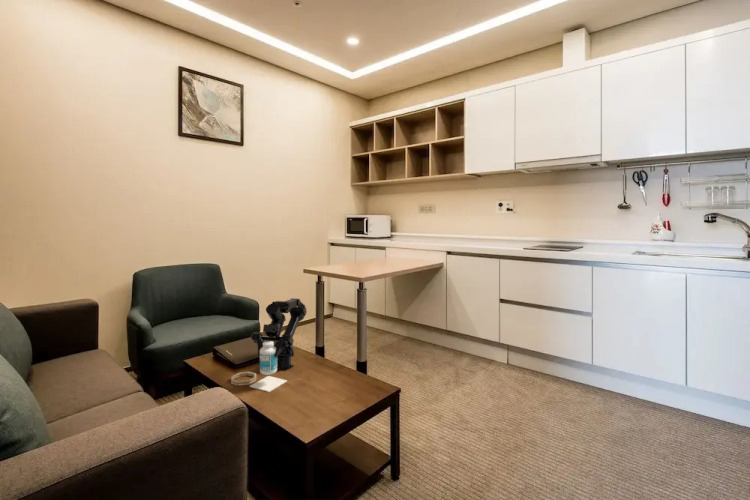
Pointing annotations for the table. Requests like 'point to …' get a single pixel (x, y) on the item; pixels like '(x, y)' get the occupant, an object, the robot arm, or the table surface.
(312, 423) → the table surface
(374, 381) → the table surface
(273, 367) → the pill bottle
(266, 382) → the white square cloth
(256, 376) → the ring holder
